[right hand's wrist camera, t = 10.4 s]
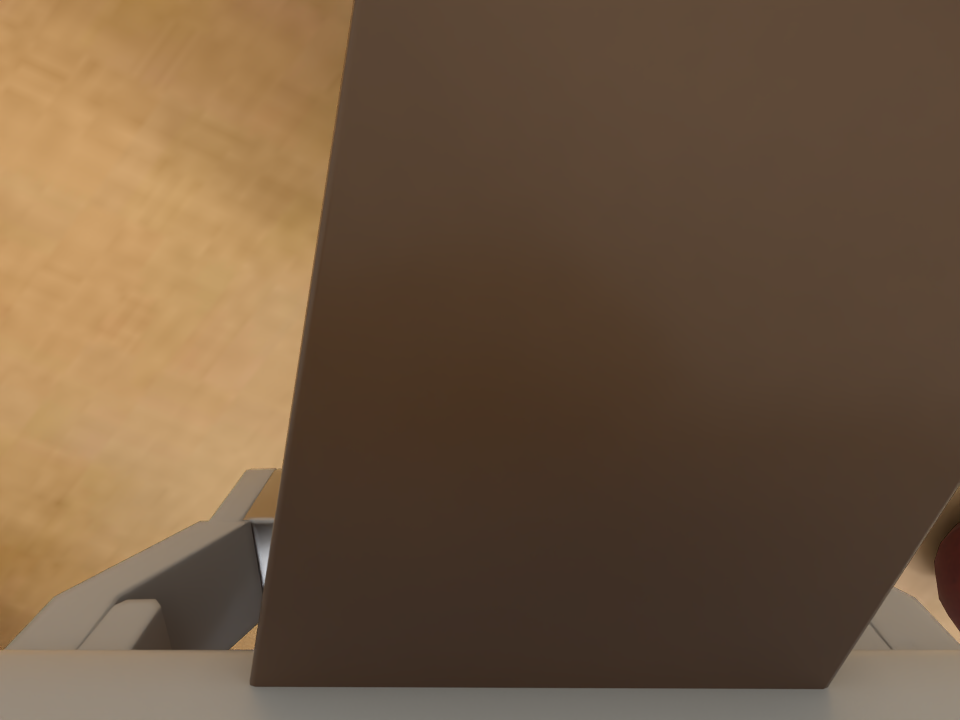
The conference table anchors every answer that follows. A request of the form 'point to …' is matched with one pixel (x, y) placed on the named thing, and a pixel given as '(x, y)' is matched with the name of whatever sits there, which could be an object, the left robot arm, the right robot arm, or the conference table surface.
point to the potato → (949, 574)
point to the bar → (621, 344)
